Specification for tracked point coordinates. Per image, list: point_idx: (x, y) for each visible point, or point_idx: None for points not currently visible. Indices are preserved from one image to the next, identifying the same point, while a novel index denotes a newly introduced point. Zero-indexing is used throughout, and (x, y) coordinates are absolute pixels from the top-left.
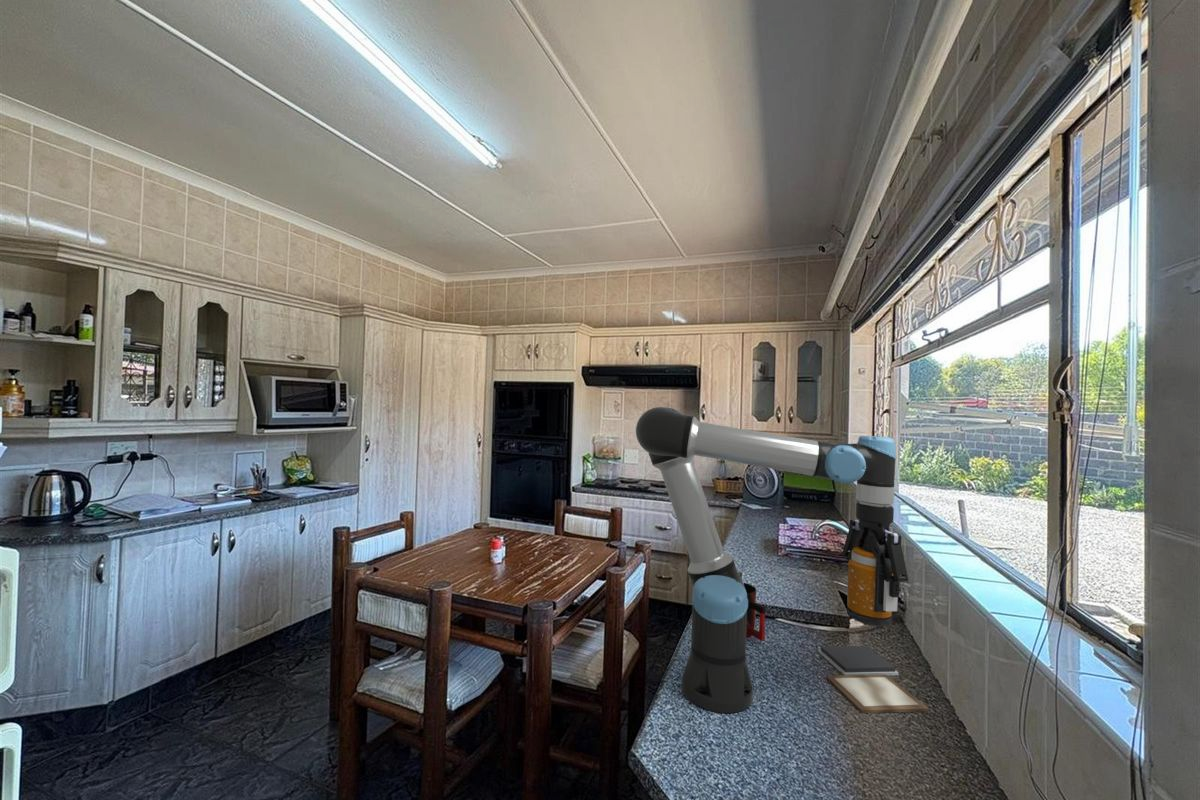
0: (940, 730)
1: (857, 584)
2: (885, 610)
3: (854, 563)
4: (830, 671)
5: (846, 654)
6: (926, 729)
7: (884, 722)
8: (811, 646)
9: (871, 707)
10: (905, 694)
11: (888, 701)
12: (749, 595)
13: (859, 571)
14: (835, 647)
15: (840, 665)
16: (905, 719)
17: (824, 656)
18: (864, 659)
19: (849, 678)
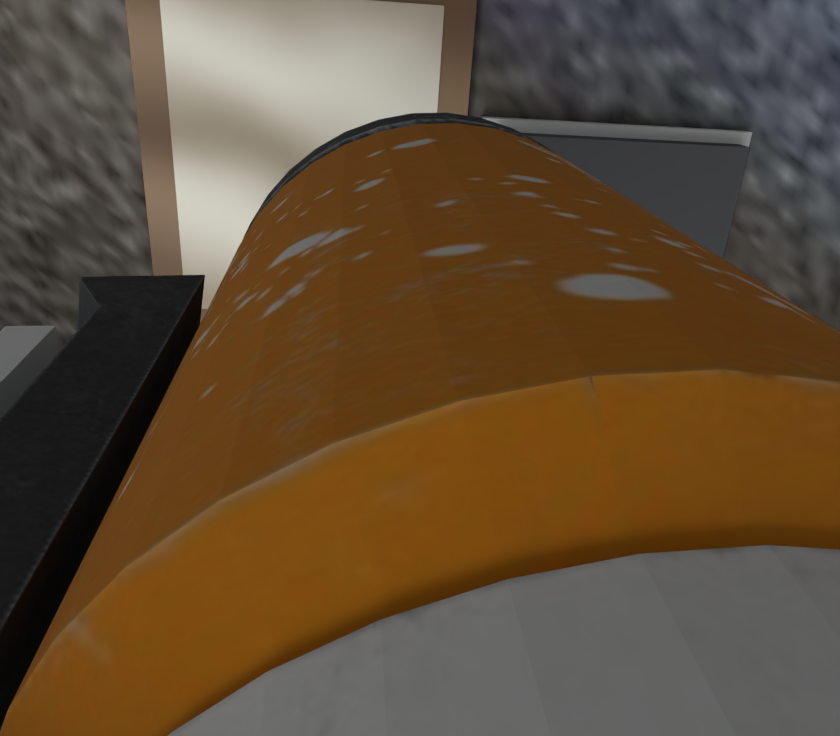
0: (16, 270)
1: (380, 225)
2: (11, 331)
3: (673, 454)
4: (541, 59)
5: None
6: (15, 209)
7: (50, 23)
8: (807, 131)
9: (152, 28)
10: None
11: (207, 170)
12: None
13: (337, 361)
14: (715, 232)
15: (549, 135)
16: (89, 164)
17: (682, 128)
18: None
19: (432, 105)
